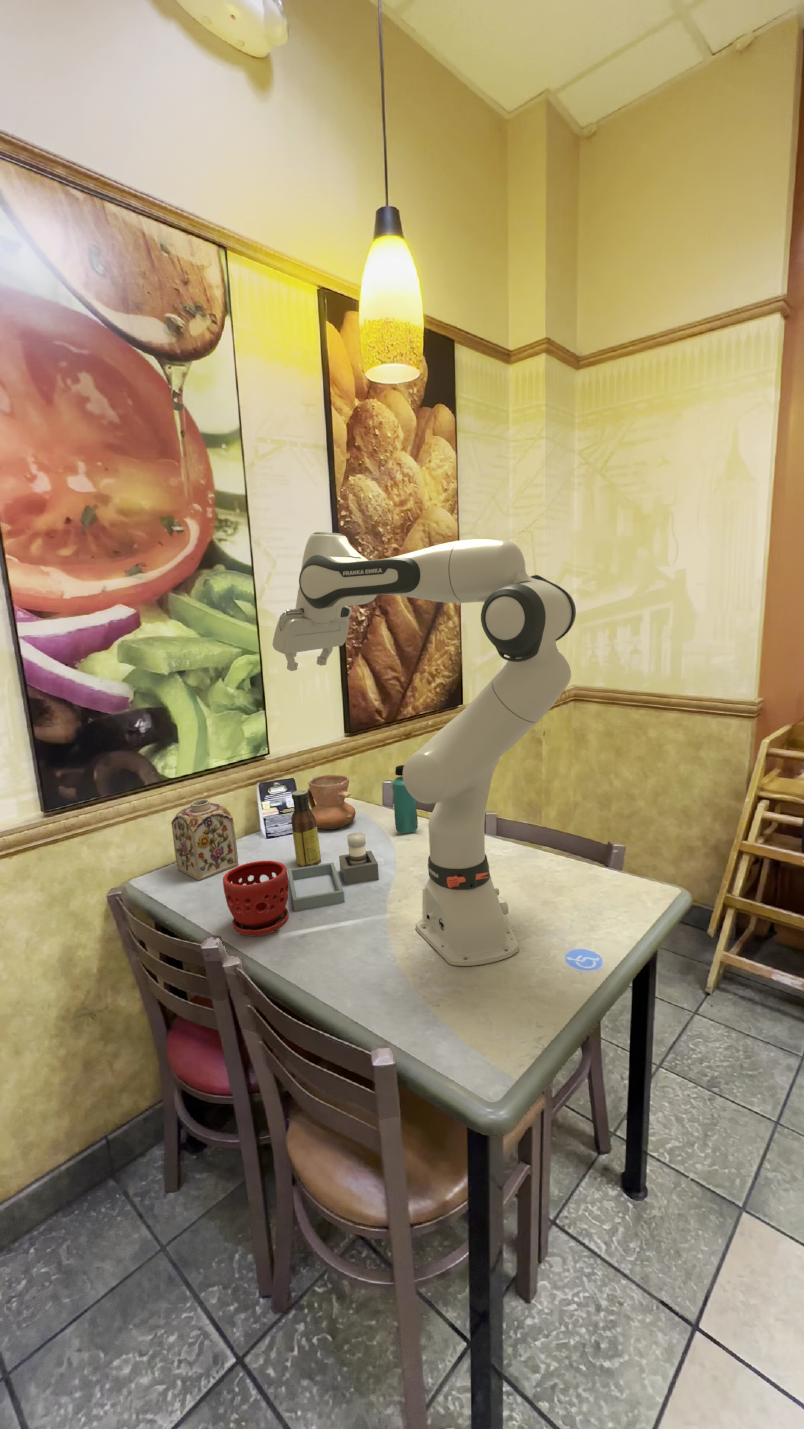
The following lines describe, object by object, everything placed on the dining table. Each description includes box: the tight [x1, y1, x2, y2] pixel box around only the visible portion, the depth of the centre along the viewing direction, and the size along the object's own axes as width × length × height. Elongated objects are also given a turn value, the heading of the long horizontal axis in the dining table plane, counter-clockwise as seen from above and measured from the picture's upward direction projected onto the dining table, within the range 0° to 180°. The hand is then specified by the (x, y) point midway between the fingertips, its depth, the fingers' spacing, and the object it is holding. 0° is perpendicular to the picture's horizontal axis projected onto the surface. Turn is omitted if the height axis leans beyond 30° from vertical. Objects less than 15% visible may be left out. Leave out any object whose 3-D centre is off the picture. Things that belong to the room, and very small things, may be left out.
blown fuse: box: [347, 832, 367, 866], centre depth 146 cm, size 4×4×10 cm
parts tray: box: [287, 862, 346, 912], centre depth 140 cm, size 16×11×4 cm
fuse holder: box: [338, 850, 380, 886], centre depth 146 cm, size 8×8×5 cm
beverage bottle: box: [392, 764, 419, 834], centre depth 171 cm, size 6×7×20 cm
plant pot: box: [222, 860, 290, 937], centre depth 127 cm, size 13×13×12 cm
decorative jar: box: [170, 798, 239, 881], centre depth 157 cm, size 12×12×18 cm
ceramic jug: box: [306, 774, 357, 830], centre depth 183 cm, size 18×14×14 cm
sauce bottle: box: [290, 789, 322, 868], centre depth 154 cm, size 6×6×20 cm
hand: (306, 667), depth 137 cm, fingers open, 8 cm apart
